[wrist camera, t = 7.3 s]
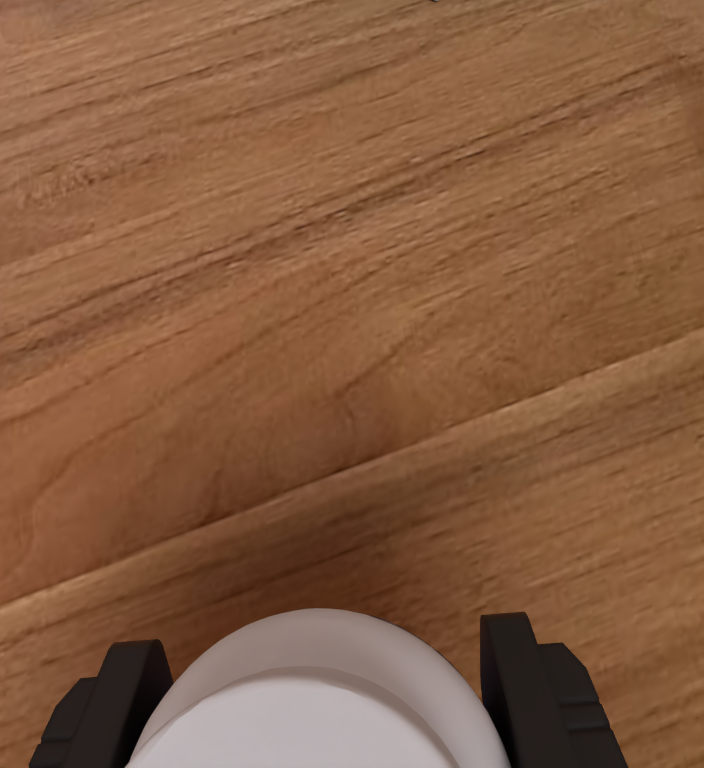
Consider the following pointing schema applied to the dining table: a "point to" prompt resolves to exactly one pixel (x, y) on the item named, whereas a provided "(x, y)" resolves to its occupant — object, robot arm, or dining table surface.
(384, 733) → the pill bottle
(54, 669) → the dining table surface
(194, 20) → the dining table surface
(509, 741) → the robot arm
